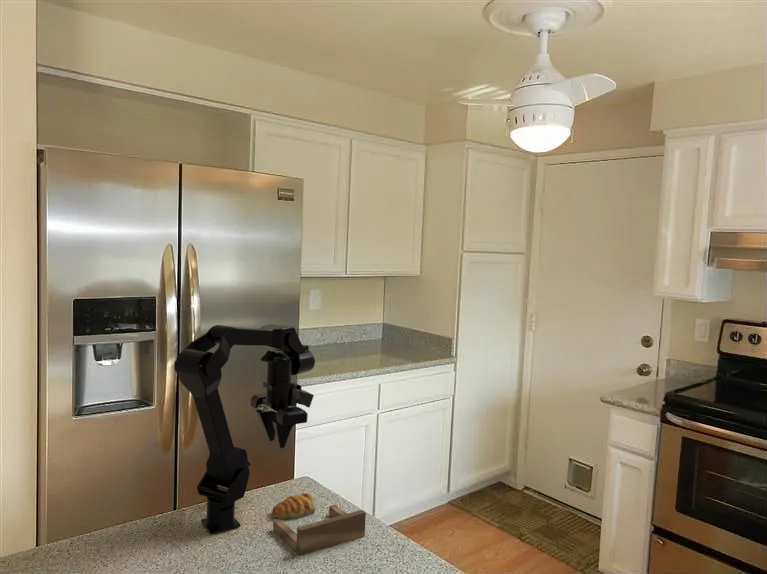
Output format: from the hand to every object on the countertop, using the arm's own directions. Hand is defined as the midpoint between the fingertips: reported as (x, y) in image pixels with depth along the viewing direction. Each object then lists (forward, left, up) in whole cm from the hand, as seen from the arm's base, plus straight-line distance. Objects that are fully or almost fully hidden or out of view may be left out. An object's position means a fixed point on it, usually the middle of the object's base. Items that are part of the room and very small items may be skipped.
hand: (276, 444), depth 138 cm
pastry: (+10, 0, -13) cm, 16 cm away
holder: (+21, 0, -12) cm, 24 cm away
